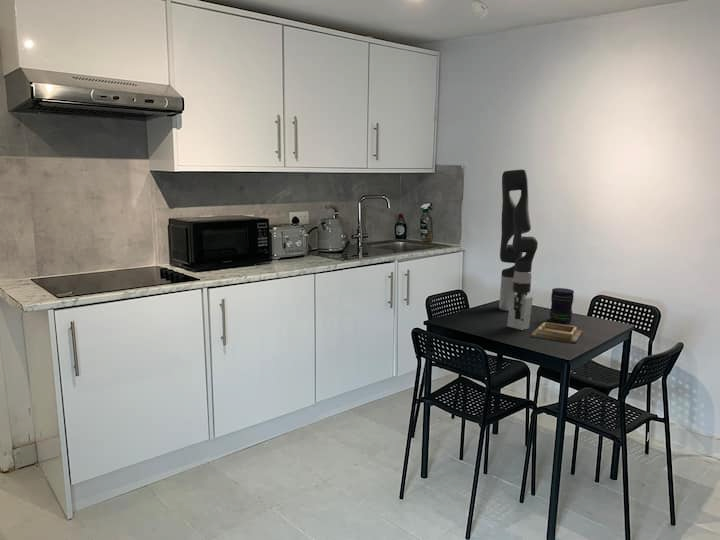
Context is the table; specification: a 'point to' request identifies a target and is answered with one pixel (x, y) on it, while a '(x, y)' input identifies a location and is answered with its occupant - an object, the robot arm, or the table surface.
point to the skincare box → (525, 313)
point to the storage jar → (561, 305)
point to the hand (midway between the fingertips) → (519, 317)
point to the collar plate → (557, 332)
